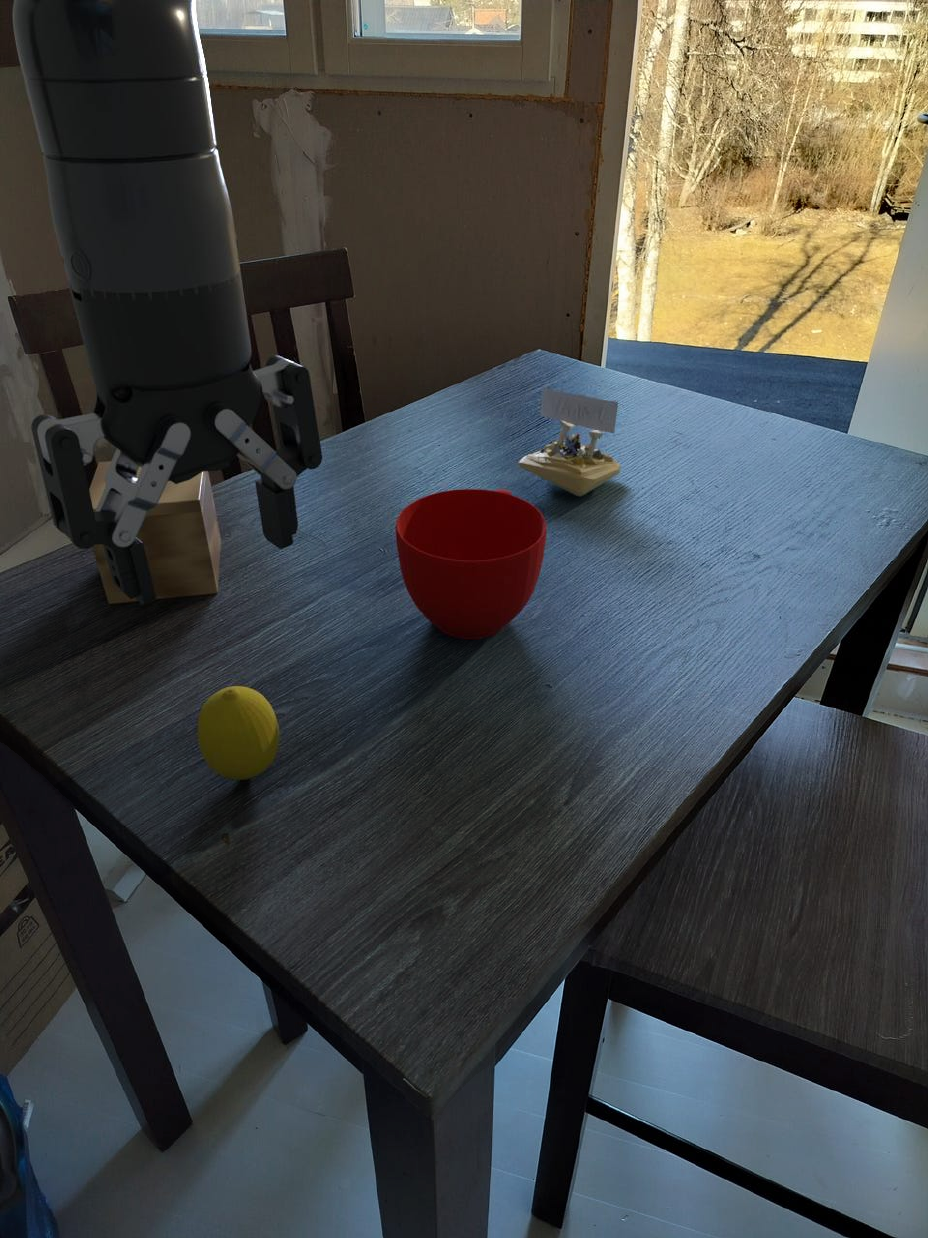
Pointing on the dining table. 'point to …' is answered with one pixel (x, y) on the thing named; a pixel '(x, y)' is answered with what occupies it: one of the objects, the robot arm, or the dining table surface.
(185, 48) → the robot arm
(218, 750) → the lemon
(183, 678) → the dining table surface
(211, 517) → the wooden cube
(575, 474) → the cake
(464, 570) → the ceramic cup
